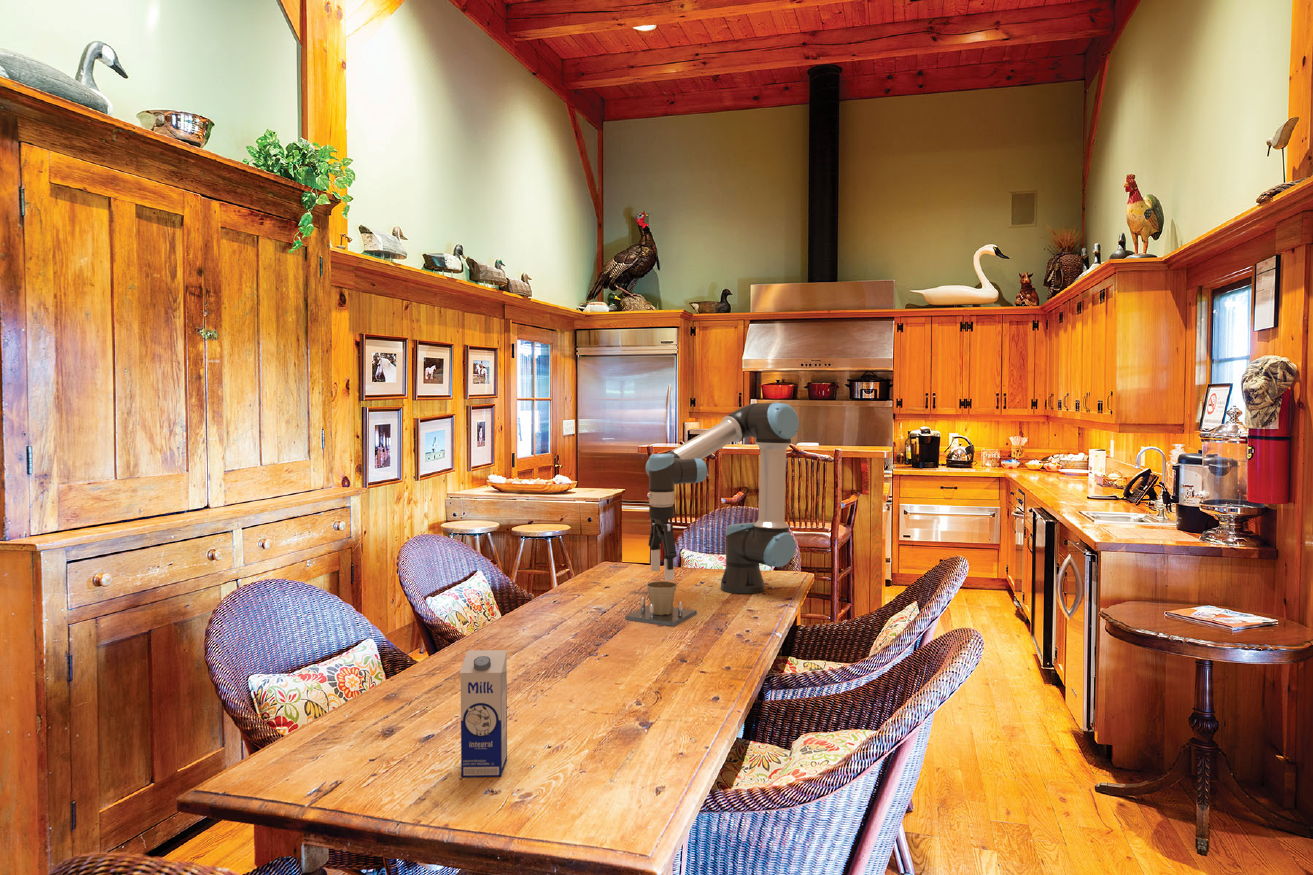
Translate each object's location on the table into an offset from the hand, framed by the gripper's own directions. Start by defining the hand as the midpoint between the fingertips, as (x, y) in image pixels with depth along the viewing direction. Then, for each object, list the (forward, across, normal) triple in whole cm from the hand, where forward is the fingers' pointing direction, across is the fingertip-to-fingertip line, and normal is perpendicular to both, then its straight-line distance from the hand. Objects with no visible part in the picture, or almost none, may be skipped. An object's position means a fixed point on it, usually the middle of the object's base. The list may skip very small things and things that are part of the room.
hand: (662, 575), depth 239 cm
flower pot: (+12, 0, 0) cm, 12 cm away
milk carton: (+12, +87, -60) cm, 107 cm away
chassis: (+12, 0, 0) cm, 13 cm away
